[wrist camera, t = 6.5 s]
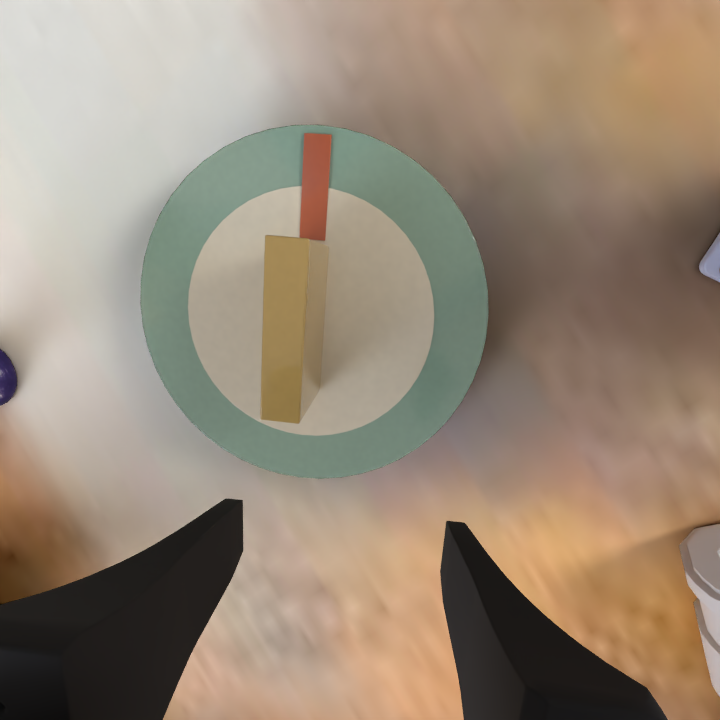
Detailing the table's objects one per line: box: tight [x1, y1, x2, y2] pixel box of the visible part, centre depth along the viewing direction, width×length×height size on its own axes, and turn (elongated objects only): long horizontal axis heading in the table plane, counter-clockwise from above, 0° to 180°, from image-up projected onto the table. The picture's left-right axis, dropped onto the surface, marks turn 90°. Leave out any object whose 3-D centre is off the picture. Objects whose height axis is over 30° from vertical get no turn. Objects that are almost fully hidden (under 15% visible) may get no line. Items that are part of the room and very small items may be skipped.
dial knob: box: [140, 125, 489, 479], centre depth 17 cm, size 17×17×5 cm
